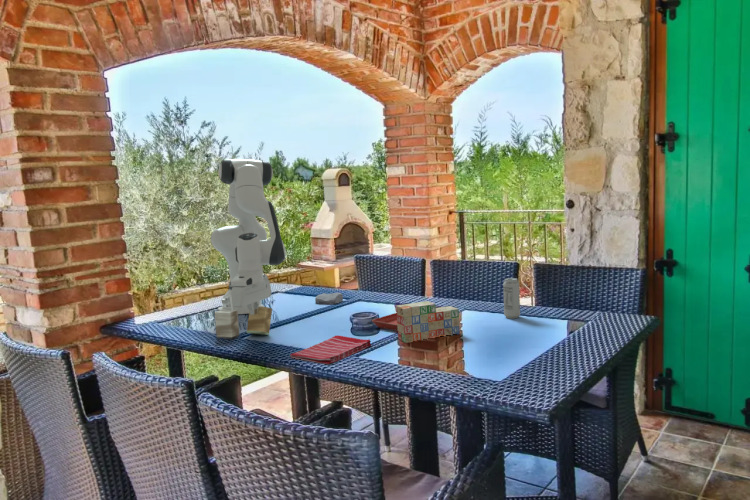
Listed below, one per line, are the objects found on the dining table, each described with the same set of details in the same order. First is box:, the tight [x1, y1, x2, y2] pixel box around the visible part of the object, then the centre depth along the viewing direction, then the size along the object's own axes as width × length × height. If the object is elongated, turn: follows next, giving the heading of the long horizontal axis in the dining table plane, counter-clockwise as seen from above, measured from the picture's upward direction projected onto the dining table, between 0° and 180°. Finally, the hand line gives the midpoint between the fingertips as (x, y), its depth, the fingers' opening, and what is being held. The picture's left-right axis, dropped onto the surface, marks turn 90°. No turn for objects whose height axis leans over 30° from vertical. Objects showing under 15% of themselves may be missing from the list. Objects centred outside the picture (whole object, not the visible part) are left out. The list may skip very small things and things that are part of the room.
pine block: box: [214, 310, 240, 340], centre depth 228 cm, size 4×7×10 cm, turn 67°
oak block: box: [246, 306, 273, 336], centre depth 229 cm, size 4×7×10 cm, turn 67°
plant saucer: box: [371, 312, 398, 332], centre depth 231 cm, size 18×18×3 cm
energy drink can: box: [502, 277, 521, 320], centre depth 234 cm, size 6×6×15 cm
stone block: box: [314, 292, 344, 305], centre depth 284 cm, size 12×5×10 cm
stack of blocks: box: [395, 300, 461, 344], centre depth 213 cm, size 21×6×12 cm, turn 111°
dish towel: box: [289, 335, 372, 365], centre depth 202 cm, size 17×24×3 cm
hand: (254, 314), depth 226 cm, fingers closed
